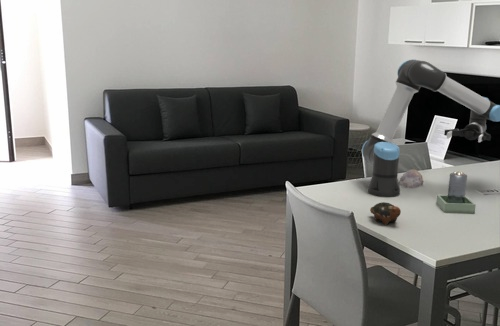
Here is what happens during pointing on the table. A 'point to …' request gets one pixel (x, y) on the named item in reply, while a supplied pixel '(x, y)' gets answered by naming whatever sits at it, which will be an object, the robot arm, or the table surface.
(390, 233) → the table surface
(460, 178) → the can
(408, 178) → the stone
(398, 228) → the table surface
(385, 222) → the decorative turtle
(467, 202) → the bin
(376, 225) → the table surface
